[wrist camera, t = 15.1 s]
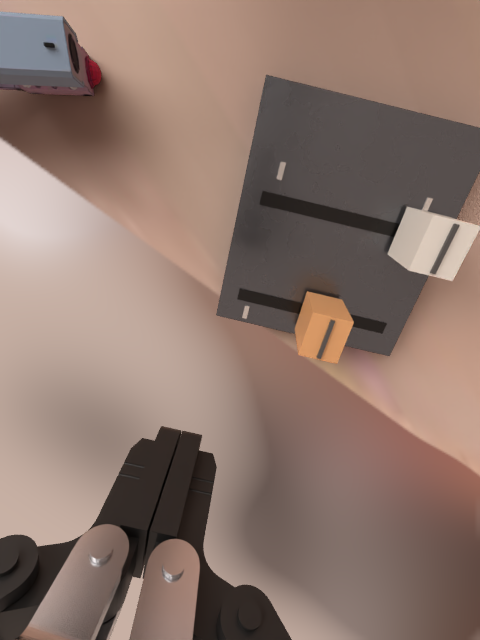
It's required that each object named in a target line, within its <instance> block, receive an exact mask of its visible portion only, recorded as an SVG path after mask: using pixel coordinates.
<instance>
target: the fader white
mask: <svg viewBox="0 0 480 640" xmlns="http://www.w3.org/2000/svg"><path fill="white" fill-rule="evenodd" d="M479 230H480V226H479V225H475V224H472V223H468V222H465V221H462V220H458V219H455V218H451V217H448V216H444V215H440V214H436V213H432V212H428V211H423V210H419V209H415V208H411V207H407V208H406V211H405V213H404V215H403V218H402V220H401V223H400V225H399V227H398V230H397V232H396V235H395V237H394V239H393V242H392V244H391V246H390V249H389V251H388V255H389V256H390V257H392V258H393V259H394V260H395V261H397V262H398V263H399V264H401V265H402V266H403V267H405V268H406V269H407V270H408V271H413V272H417V273H421V274H425V275H429V276H433V277H437V278H442V279H446V280H450V281H453V279H454V277H455V276H456V274H457V272H458V270H459V268H460V266H461V264H462V262H463V260H464V258H465V257H466V255H467V253H468V251H469V249H470V247H471V245H472V243H473V241H474V239H475V237H476V236H477V234H478V232H479Z"/></svg>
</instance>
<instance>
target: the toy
mask: <svg viewBox="0 0 480 640" xmlns="http://www.w3.org/2000/svg"><path fill="white" fill-rule="evenodd" d="M77 42H78V40H77V36H76V33H75V32H74V31H73V29H72V28H71V27H70V25H69V24H68V23H67V21H66V20H65V18H64V17H62V16H49V15H36V14H23V13H10V12H0V89H3V90H22V91H26V92H28V93H32V94H56V95H81V96H94V90H93V88H94V87H95V85H97V84H99V83H100V81H101V71H100V68H99V66H98V65H97V63H95V62H94V61H92V60H91V59H89V56H88V54H87V52H86V51H85V50H84V48H83V47H80V45H79V44H78V43H77Z"/></svg>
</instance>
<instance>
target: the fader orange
mask: <svg viewBox="0 0 480 640" xmlns="http://www.w3.org/2000/svg"><path fill="white" fill-rule="evenodd" d="M353 324H354V321H353V319H352V317H351V315H350V314H349V312H348V310H347V308H346V306H345V304H344V302H343V300H342V299H338V298H333V297H329V296H325V295H321V294H317V293H312V292H308V291H307V293H306V296H305V299H304V302H303V305H302V308H301V311H300V314H299V317H298V320H297V323H296V326H295V335H296V342H297V349H298V355H301V356H305V357H310V358H314V359H318V360H322V361H327V362H331V363H335V364H337V362H338V360H339V358H340V355H341V353H342V350H343V348H344V345H345V343H346V341H347V338H348V336H349V333H350V331H351V329H352V326H353Z"/></svg>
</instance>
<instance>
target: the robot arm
mask: <svg viewBox="0 0 480 640" xmlns="http://www.w3.org/2000/svg"><path fill="white" fill-rule="evenodd" d="M180 436H181V437H180ZM201 438H202V435H199V434H195V433H190V432H186V431H182V434H181V430H176V429H172V428H167V427H163V426H162V427H161V428H160V430H159V433H158V435H157V437H156V439H155V441H152V440H149V439H144V438H142V439H141V440H140V441H139V442H138V443H137V444H135V446H133V447H132V448H131V450H130V452H129V454H128V456H127V458H126V460H125V462H124V465H123V466H122V468H121V471H120V472H119V475H118V476H117V478H116V481H115V483H114V485H113V487H112V489H111V491H110V493H109V495H108V497H107V499H106V501H105V503H104V505H103V507H102V509H101V512H100V514H99V516H98V518H97V519H96V521H95V523H94V524H93V525H92V527H91V528H90V529H89V530H88V531H87V532H85V533H84V534H83V535H81V536H80V537H78V538H76V539H74V540H72V541H69V542H65V543H60V544H53V545H45V546H39V547H37V545H36V543H35V542H34V541H33V540H32V539H31V538H30V537H28V536H24V535H11V536H7V537H4V538H1V539H0V640H109V639H110V636H111V634H112V631H113V629H114V626H115V624H116V621H117V619H118V616H119V614H120V611H121V608H122V605H123V603H124V600H125V597H126V594H127V591H128V588H129V585H130V582H131V579H132V576H133V577H137V578H140V577H141V574H142V571H143V568H144V573H143V579H144V580H143V584H142V589H141V592H140V597H139V601H138V605H137V609H136V614H135V618H134V622H133V627H132V631H131V635H130V639H129V640H292V639H291V638H290V636H289V634H288V632H287V631H286V629H285V627H284V625H283V623H282V622H281V620H280V618H279V616H278V615H277V613H276V611H275V609H274V607H273V606H272V604H271V602H270V601H269V599H268V597H267V596H265V594H264V593H263V592H262V591H261V590H259V589H258V588H256V587H254V586H251V585H241V586H237V587H233V586H232V585H230V584H229V583H227V582H226V581H224V580H223V579H221V578H220V577H218V576H217V575H216V574H215V573H214V572H213V571H212V570H211V569H210V567H209V566H208V564H207V562H206V559H205V556H204V551H203V542H204V535H205V530H206V524H207V519H208V513H209V507H210V502H211V495H212V490H213V484H214V479H215V473H216V463H215V460H214V456H213V454H212V453H207V452H203V451H199V447H200V442H201ZM144 565H145V566H144Z"/></svg>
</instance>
